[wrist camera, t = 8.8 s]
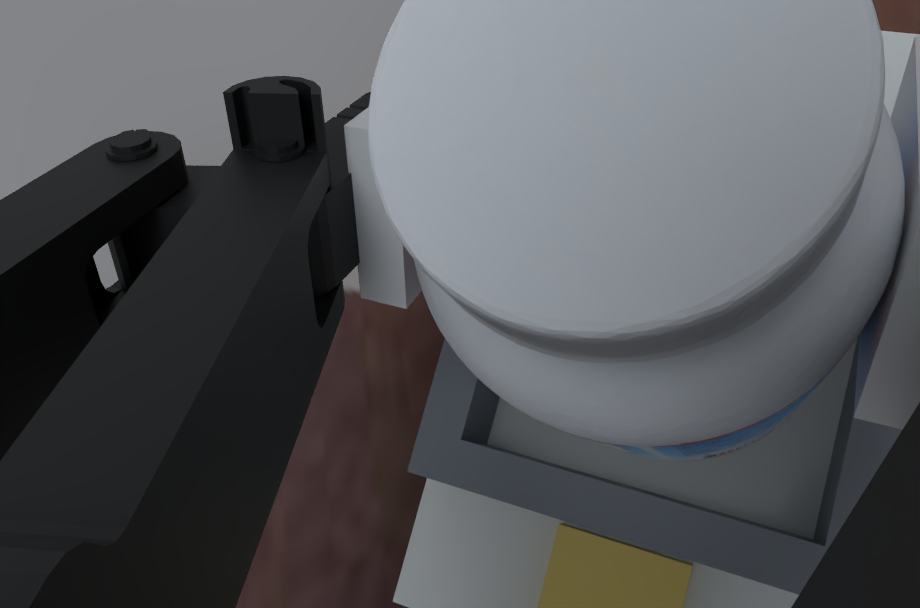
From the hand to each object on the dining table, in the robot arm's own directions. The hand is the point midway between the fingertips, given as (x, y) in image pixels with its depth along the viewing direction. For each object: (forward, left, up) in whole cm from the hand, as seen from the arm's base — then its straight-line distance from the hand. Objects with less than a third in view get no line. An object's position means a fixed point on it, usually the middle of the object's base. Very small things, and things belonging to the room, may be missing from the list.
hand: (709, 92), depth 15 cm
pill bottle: (0, +4, -4) cm, 5 cm away
